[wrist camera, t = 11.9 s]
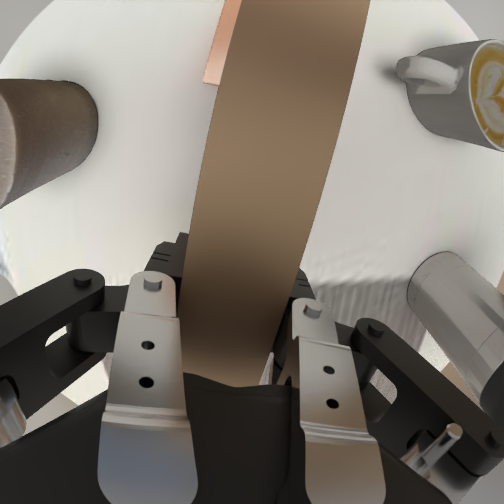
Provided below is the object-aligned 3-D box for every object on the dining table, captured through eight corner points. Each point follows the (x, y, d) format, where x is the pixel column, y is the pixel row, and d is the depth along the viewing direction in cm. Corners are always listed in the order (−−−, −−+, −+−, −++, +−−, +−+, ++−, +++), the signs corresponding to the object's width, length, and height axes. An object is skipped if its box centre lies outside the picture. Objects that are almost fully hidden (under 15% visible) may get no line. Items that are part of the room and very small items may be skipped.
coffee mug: (482, 76, 26) (544, 79, 17) (462, 150, 30) (523, 170, 20) (390, 16, 23) (446, -8, 14) (366, 99, 27) (421, 99, 18)
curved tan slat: (251, -2, 10) (264, -71, 5) (321, 16, 11) (377, -36, 5) (173, 396, 19) (162, 475, 13) (220, 403, 19) (219, 483, 14)
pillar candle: (41, 70, 23) (-64, 68, 10) (115, 98, 26) (23, 100, 12) (12, 155, 27) (-86, 197, 13) (80, 189, 29) (-9, 252, 16)
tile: (288, 102, 28) (313, 10, 24) (291, 102, 26) (318, 6, 22) (203, 83, 26) (230, -10, 22) (202, 81, 25) (230, -16, 21)
